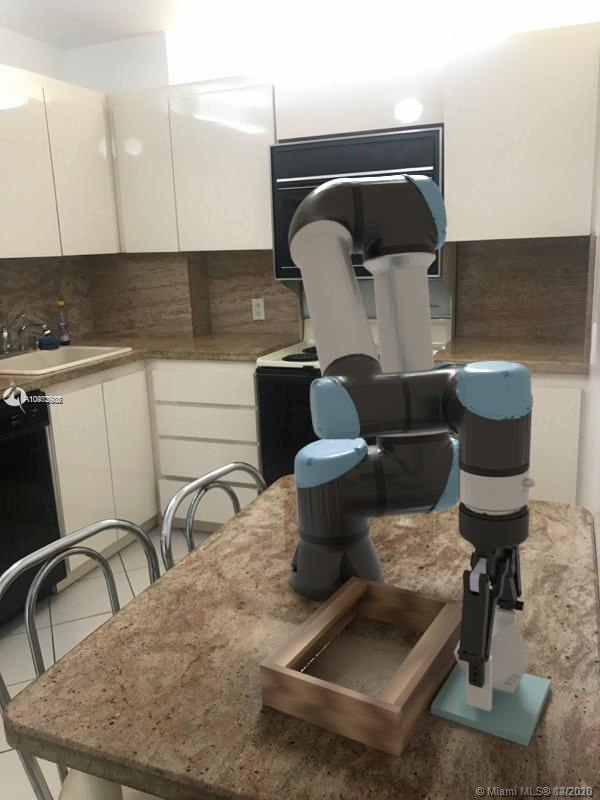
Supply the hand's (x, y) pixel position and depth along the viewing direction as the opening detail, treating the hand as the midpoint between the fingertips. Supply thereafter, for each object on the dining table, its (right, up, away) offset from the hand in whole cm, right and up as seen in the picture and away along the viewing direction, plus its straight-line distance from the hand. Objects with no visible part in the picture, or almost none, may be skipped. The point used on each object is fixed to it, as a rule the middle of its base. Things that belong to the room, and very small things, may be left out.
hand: (492, 680), depth 78 cm
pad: (0, -3, +1) cm, 3 cm away
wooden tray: (-13, -2, +7) cm, 15 cm away
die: (0, 0, 0) cm, 0 cm away
